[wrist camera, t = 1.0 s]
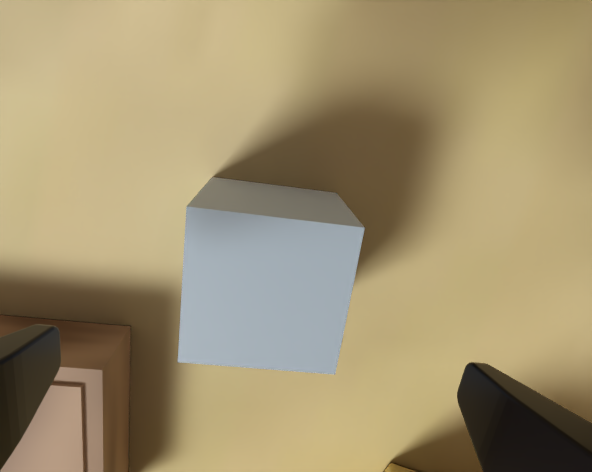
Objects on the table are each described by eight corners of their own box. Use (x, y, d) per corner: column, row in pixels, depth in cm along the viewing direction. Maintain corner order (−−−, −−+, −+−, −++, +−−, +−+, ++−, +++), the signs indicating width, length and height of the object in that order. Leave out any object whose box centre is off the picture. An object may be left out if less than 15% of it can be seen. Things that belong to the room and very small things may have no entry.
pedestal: (130, 326, 17) (100, 372, 14) (128, 481, 20) (102, 548, 17) (-94, 306, 16) (-178, 351, 13) (-65, 472, 19) (-129, 541, 16)
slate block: (336, 192, 16) (365, 227, 11) (317, 301, 17) (334, 374, 12) (212, 176, 15) (186, 206, 10) (203, 290, 17) (177, 362, 12)
